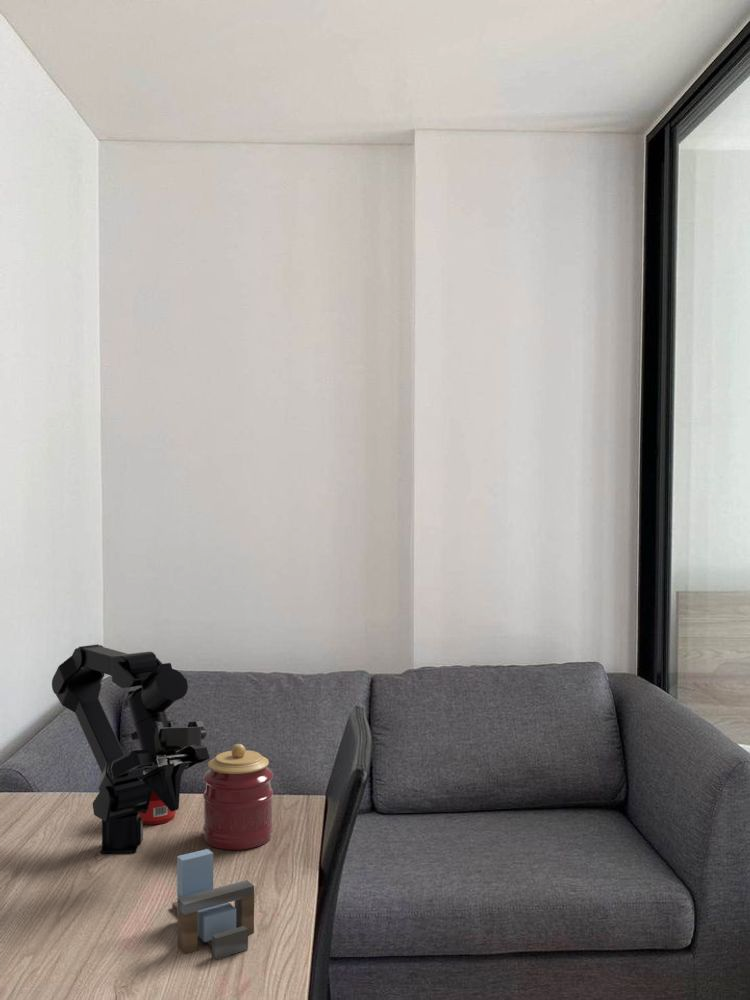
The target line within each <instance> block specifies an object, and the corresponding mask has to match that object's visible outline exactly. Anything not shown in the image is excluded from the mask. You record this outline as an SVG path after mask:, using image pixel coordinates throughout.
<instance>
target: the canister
mask: <svg viewBox="0 0 750 1000" xmlns="http://www.w3.org/2000/svg"><path fill="white" fill-rule="evenodd" d="M269 764H270V761H269V759H268V758H267V757H264V756H263V755H262V754H261V753H260V752H258V751H254V750H250V749H249V750H247V749H246V747H245V746H244V744H241V743H236V744H234V745H233V746H232V747H231V750H228V751H224V752H223V751H222V752H221V753H218V754H217V755H216V756H215V757H214V758H212V759H211V760H209V761H208V762H207V766H208V768H209V770H207V771H206V772H205V773H204V775H203V777H202V778H203V781H204V782H205V783H206V785H205V790H204V792H203V796H202V797H203V800H204V801H203V803H204V804H203V805H204V806H203V807H204V808H203V812H204V813H203V814H204V815H203V817H204V818H203V822H204V823H203V825H202V829H203V830H202V832H203V833H202V834H203V836H204V841H205V843H206V844H207V845H209V846H211V847H213V848H216V849H219V850H220V849H221V850H229V851H240V850H248V849H253V848H257V847H260V846H262V845H264V844H266V843H267V842H269V841H270V840H271V838H272V836H273V831H274V822H273V795H274V789H273V788H272V786H271V780H272V779H273V778H274V772H273V771H272V770H271V769H270V768H269V767H268V765H269Z"/></svg>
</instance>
